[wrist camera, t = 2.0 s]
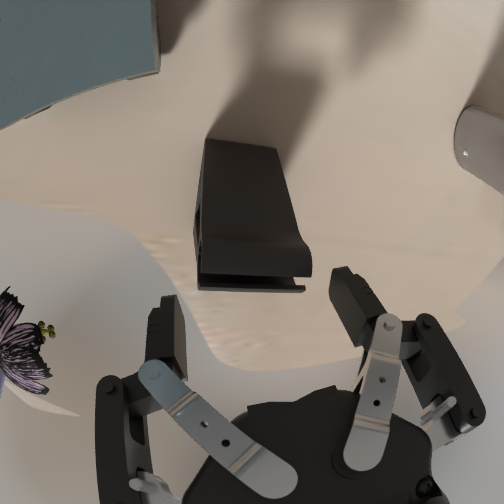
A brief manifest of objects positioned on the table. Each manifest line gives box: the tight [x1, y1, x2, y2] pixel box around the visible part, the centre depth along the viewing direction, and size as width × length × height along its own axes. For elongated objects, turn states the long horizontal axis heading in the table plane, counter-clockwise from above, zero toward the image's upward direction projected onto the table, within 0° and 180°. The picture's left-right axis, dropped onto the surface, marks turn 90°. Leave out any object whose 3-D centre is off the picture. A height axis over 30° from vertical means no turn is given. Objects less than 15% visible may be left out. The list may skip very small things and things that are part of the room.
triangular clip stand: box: [193, 139, 312, 293], centre depth 19 cm, size 9×6×12 cm, turn 168°
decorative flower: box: [0, 286, 55, 395], centre depth 24 cm, size 14×12×15 cm
